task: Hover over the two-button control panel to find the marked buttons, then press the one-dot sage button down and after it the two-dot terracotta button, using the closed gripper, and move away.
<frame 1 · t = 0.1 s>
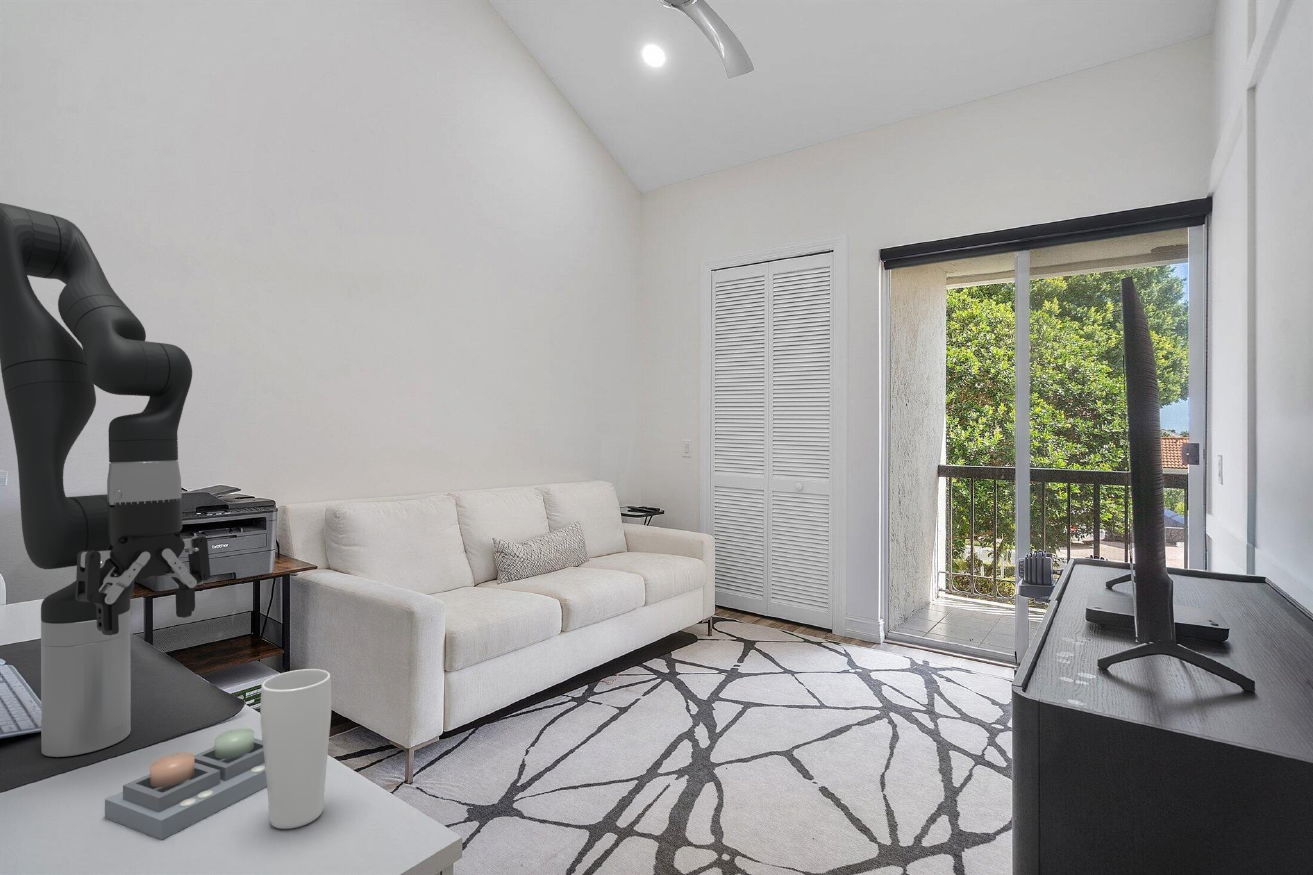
hand: (148, 625, 86), 17 cm above the table, tool pointing down, fingers open, 8 cm apart
two-button control panel: (204, 793, 78), on the table
button one: (234, 743, 81), point 4 cm above the table, slide at 0.0 cm
drinking glass: (297, 819, 73), on the table
button two: (172, 769, 75), point 4 cm above the table, slide at 0.0 cm
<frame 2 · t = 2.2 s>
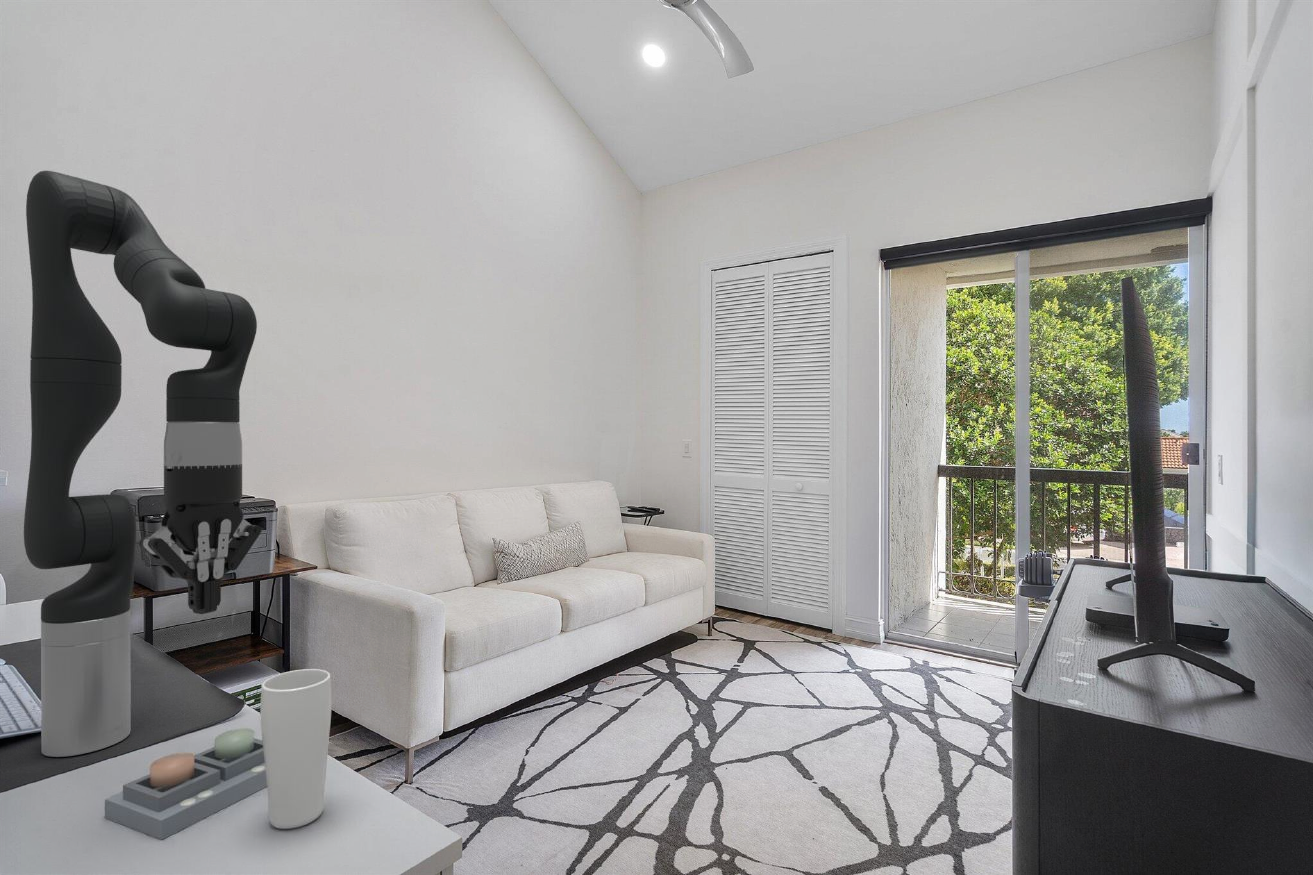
hand: (204, 612, 78), 21 cm above the table, tool pointing down, fingers closed
nothing on the table moved.
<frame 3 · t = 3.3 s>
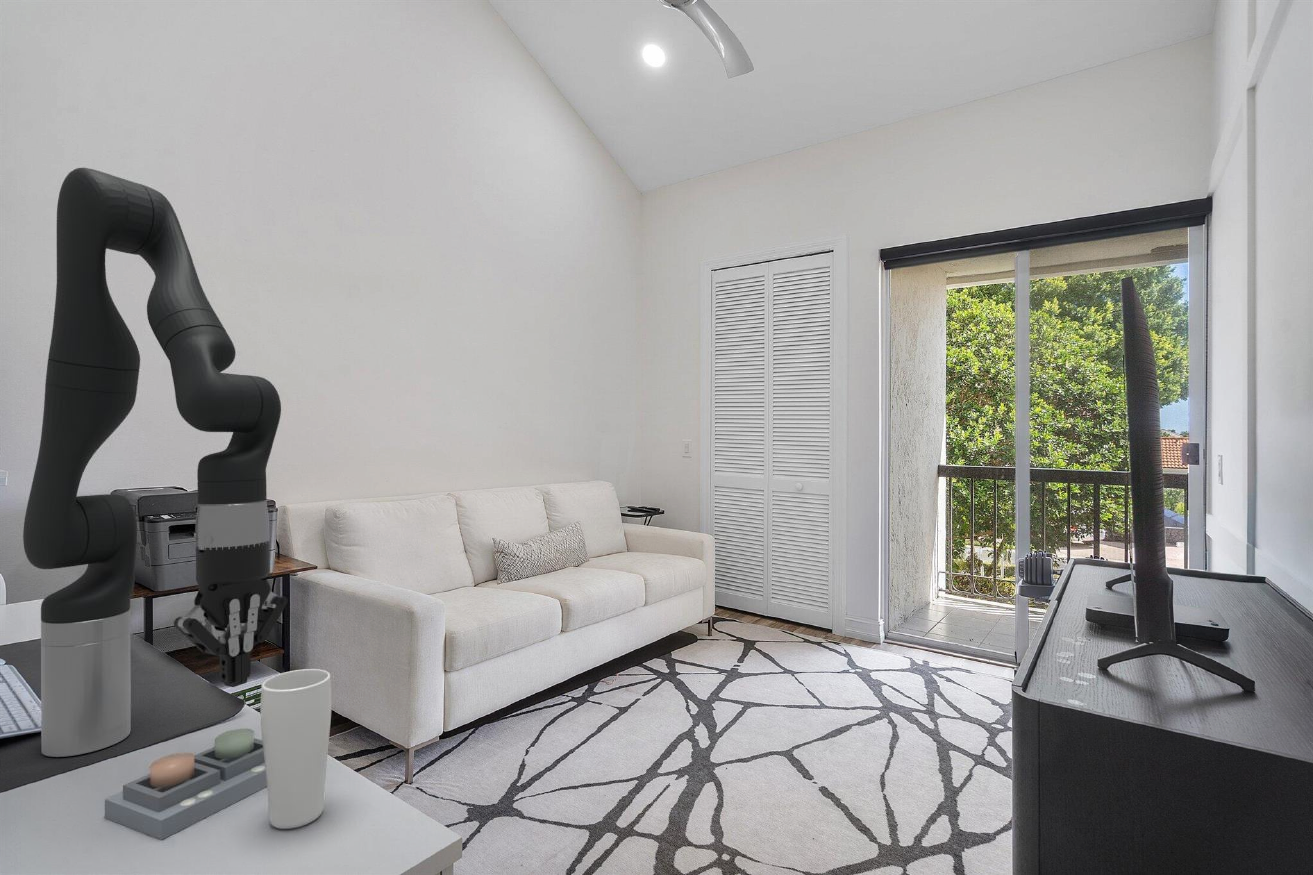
hand: (235, 684, 81), 12 cm above the table, tool pointing down, fingers closed
nothing on the table moved.
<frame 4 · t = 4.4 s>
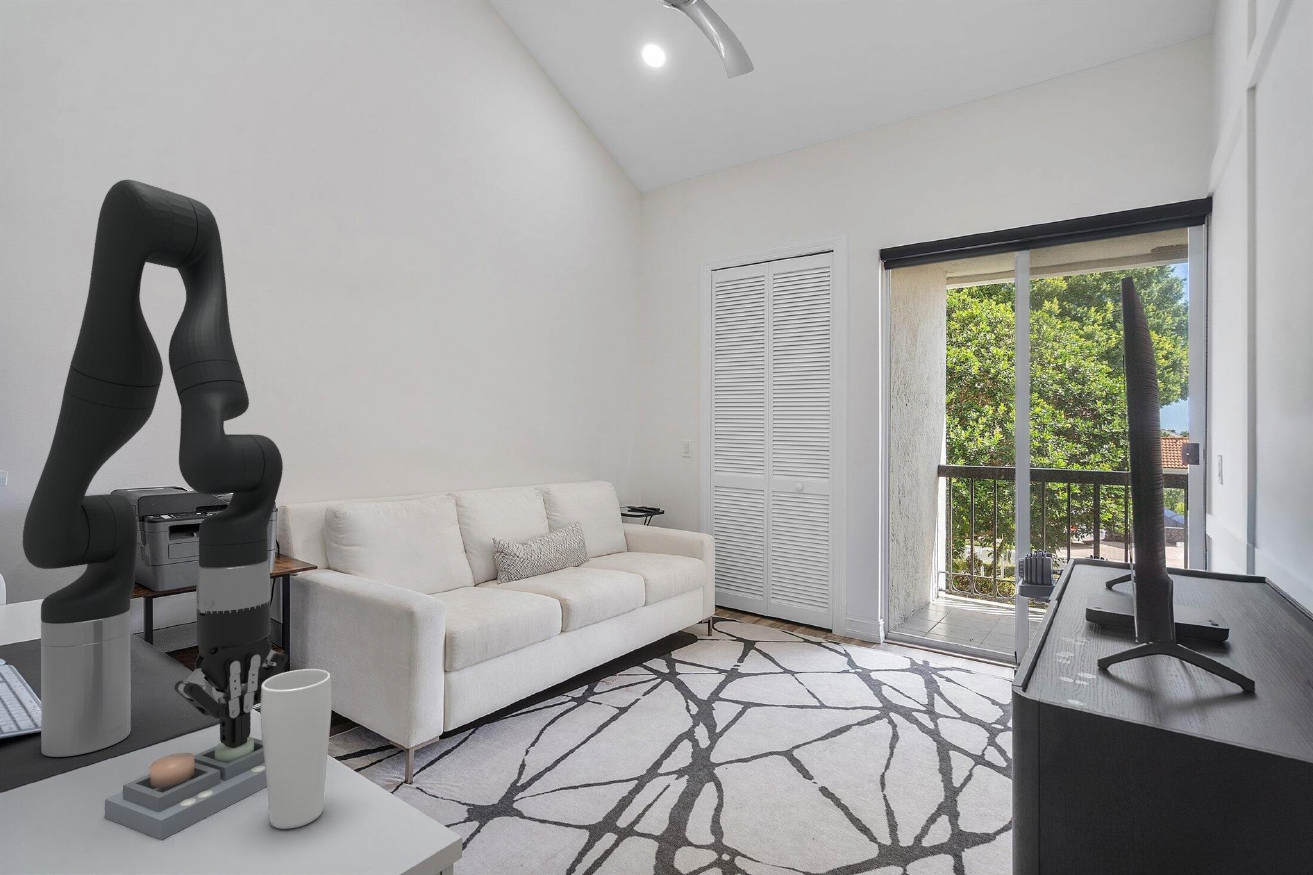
hand: (235, 744, 81), 4 cm above the table, tool pointing down, fingers closed
button one: (234, 752, 81), point 3 cm above the table, slide at 1.1 cm, touching gripper
everything else where it was.
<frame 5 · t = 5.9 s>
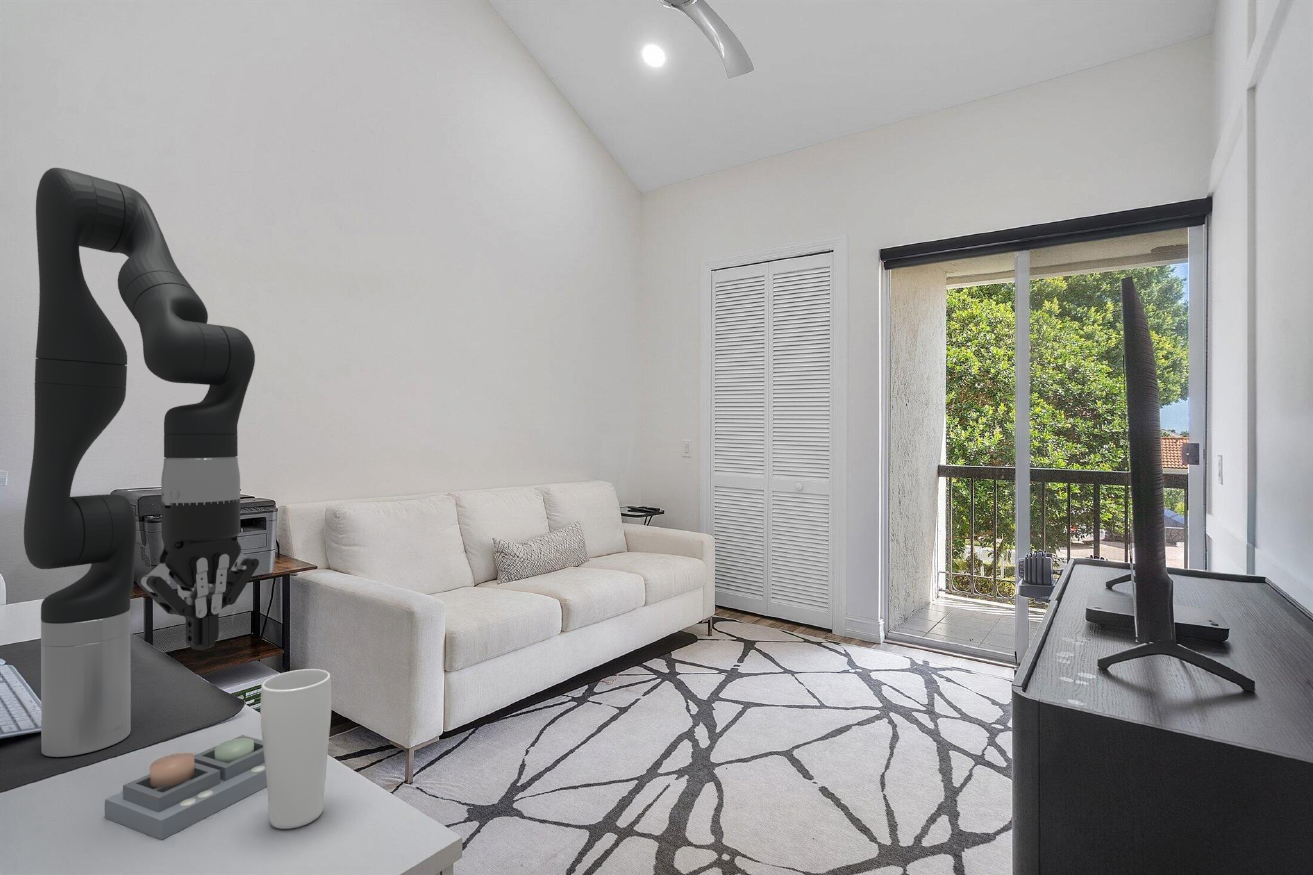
hand: (202, 647, 77), 17 cm above the table, tool pointing down, fingers closed
button one: (234, 752, 81), point 3 cm above the table, slide at 1.2 cm
everything else where it was.
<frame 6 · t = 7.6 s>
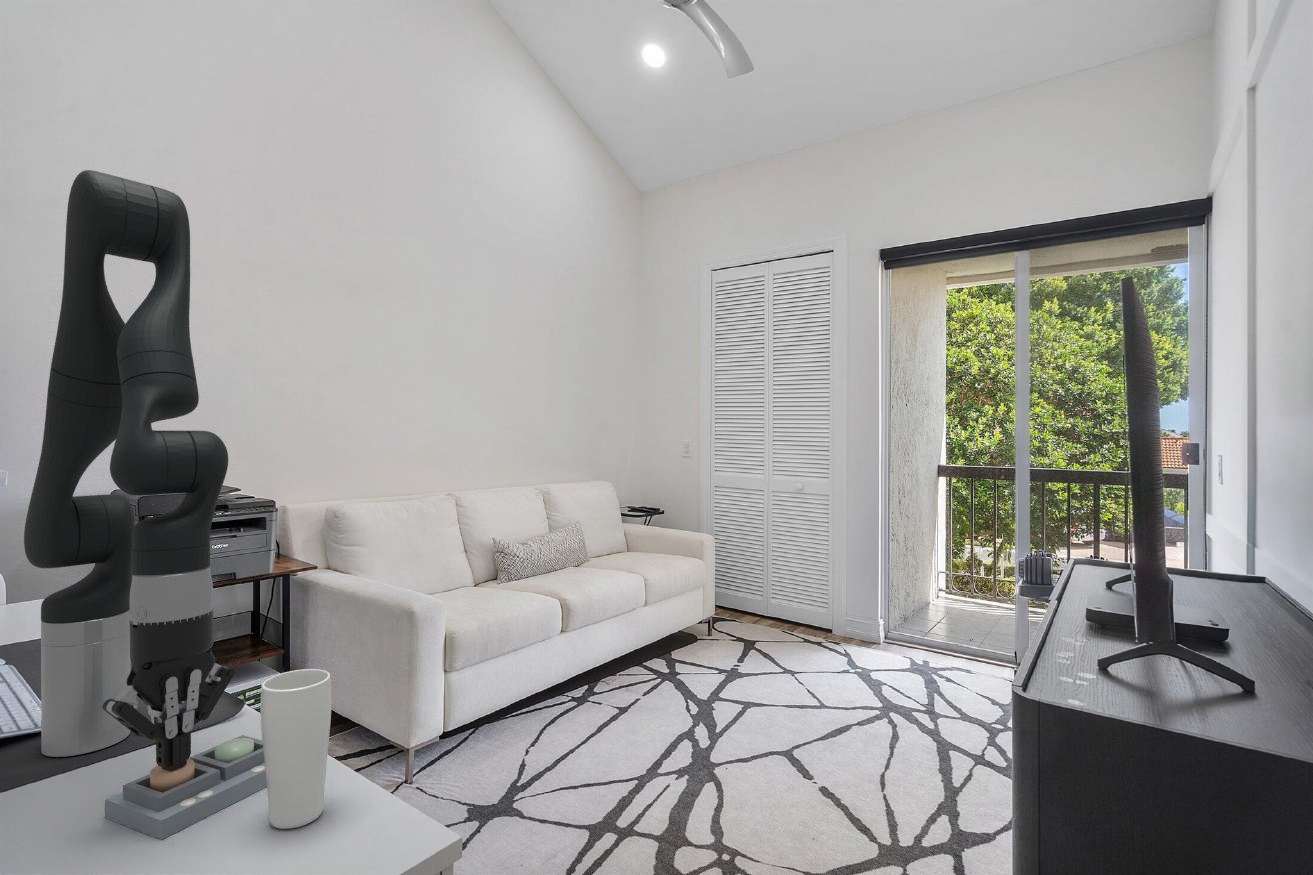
hand: (173, 767, 75), 5 cm above the table, tool pointing down, fingers closed
button two: (172, 775, 75), point 4 cm above the table, slide at 0.7 cm, touching gripper
everything else where it was.
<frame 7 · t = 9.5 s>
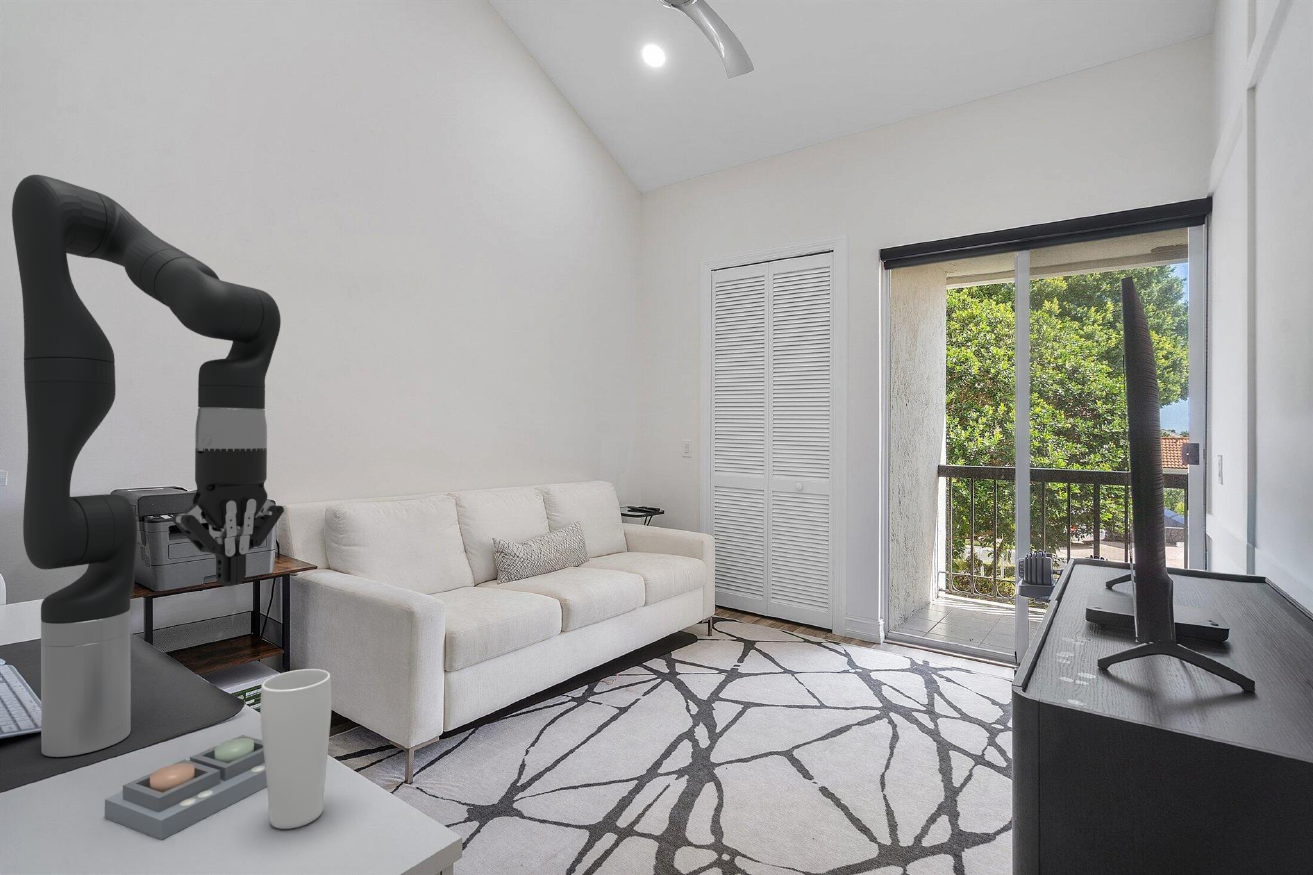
hand: (230, 584, 84), 23 cm above the table, tool pointing down, fingers closed
button two: (172, 780, 75), point 3 cm above the table, slide at 1.2 cm
everything else where it was.
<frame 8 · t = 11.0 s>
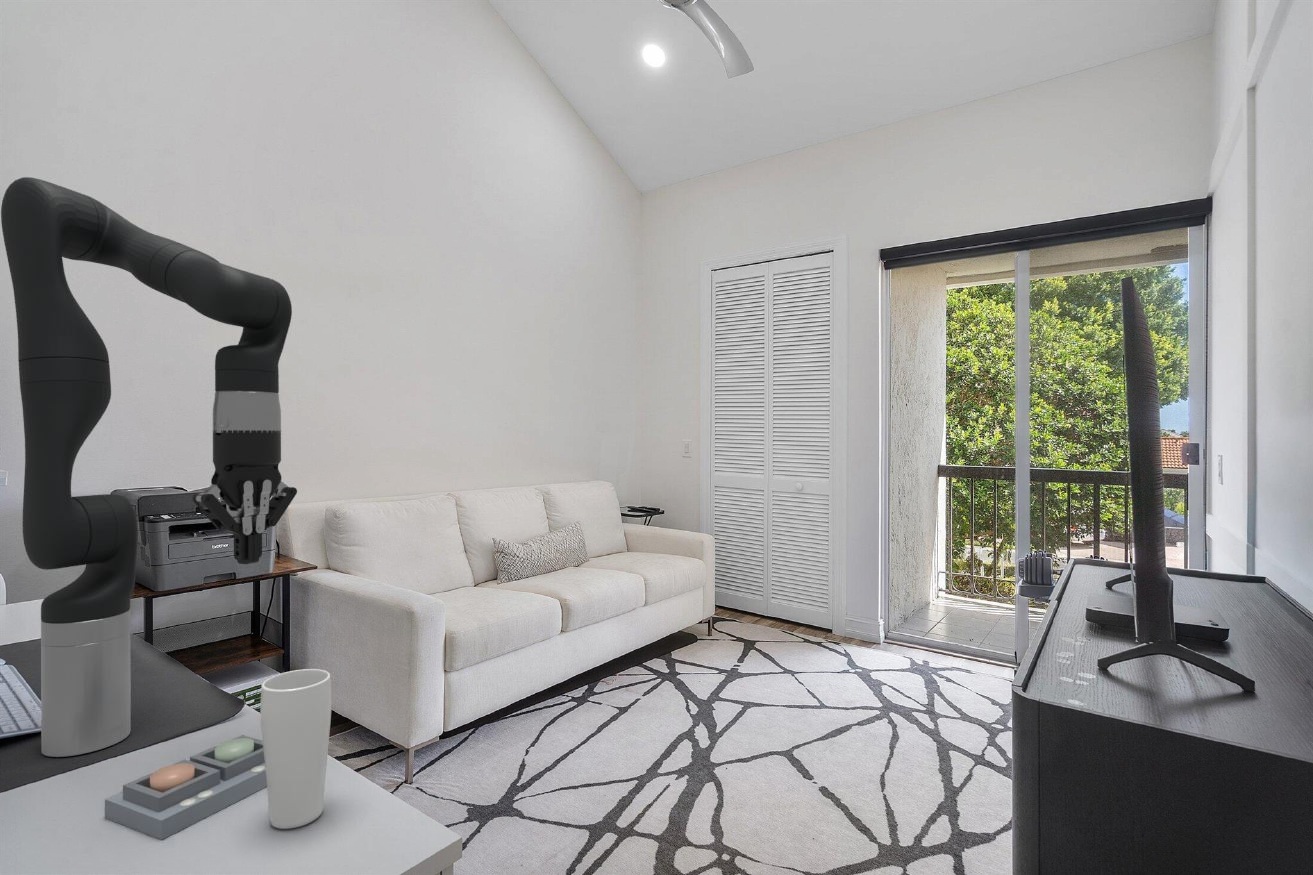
hand: (247, 562, 87), 25 cm above the table, tool pointing down, fingers closed
nothing on the table moved.
at the end: button one slide at 1.2 cm; button two slide at 1.2 cm; drinking glass moved 0.2 cm from its start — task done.
